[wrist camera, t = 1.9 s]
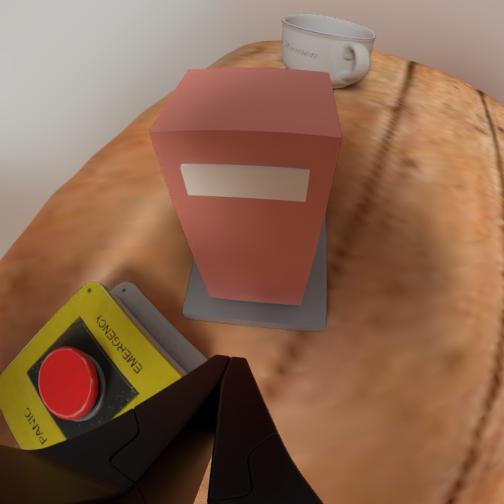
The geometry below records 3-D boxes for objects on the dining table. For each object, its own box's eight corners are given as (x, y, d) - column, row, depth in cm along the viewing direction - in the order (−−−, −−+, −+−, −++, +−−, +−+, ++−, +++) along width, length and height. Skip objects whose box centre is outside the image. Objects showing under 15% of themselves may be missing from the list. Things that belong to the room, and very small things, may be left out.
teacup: (277, 61, 35) (277, 10, 29) (352, 65, 35) (359, 16, 28) (290, 111, 28) (292, 40, 21) (388, 116, 28) (404, 53, 21)
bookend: (322, 331, 17) (355, 277, 11) (186, 318, 17) (146, 259, 11) (321, 170, 23) (332, 96, 17) (222, 164, 24) (212, 90, 18)
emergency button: (216, 363, 12) (33, 526, 7) (227, 377, 16) (73, 514, 11) (102, 244, 16) (-37, 397, 10) (130, 279, 20) (4, 408, 14)
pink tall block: (300, 308, 16) (342, 141, 7) (209, 299, 17) (146, 135, 7) (303, 243, 18) (329, 72, 9) (221, 237, 19) (188, 69, 9)
